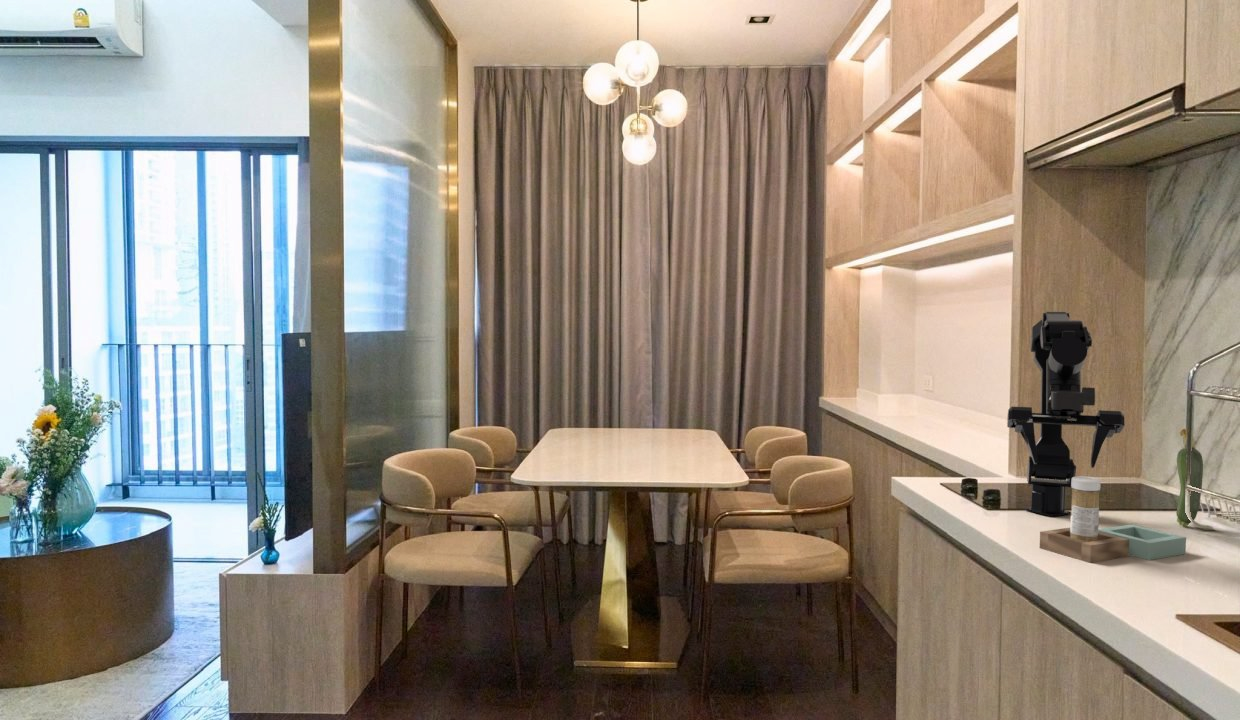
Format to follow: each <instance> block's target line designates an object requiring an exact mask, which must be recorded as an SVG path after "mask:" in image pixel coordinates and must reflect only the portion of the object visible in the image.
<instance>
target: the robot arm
mask: <svg viewBox="0 0 1240 720" xmlns="http://www.w3.org/2000/svg"><path fill="white" fill-rule="evenodd" d="M1041 316H1042V317H1041V319H1040V320H1039V321H1038V322H1037V323H1035V325H1033V326H1032V328H1031V334H1030V353H1033V362H1034V364H1035V365H1036V367H1037V368H1038V369H1039V371H1040V374H1041V375H1040V381H1041V382H1040V412H1039V413H1038V412H1033V408H1032V406H1031V407H1029V406H1011V407H1010V408H1009V409H1008V410H1007V420H1006V421H1007V423H1006V424H1007V425H1006V427H1007V428H1009V429H1014V432H1015V433H1017V434H1018V433H1020V435H1021V437H1022V438H1023V440H1024V442H1025V444H1026V446H1027V448H1028V450H1029V451H1028V452H1029V454H1030V455H1029V456H1028V460H1027V461H1028V463H1027V471H1026V474H1027V475H1026V479H1027V480H1026V481H1027V484H1028V485H1032V487H1031V488H1032V491H1031V500H1030V501H1031V502H1030V504H1031V505H1030V507H1025V511H1026V512H1027V511H1028V512H1031V513H1032V512H1033V513H1036V514H1039V515H1043V516H1047V517H1057V516H1066V515H1071V510H1065V509H1066V508H1065V507H1066V488H1071V489H1072V487H1071V479H1072V477H1075V476H1076V472H1077V465H1076V464H1075V462H1074V460H1073V458H1071V455H1070V454H1071V451H1070V448H1069V446H1068V445H1067V444H1066V442H1065V441H1064V439H1063V438H1062V436H1063V434H1062V432H1063V426H1064V425H1065V426H1084V427H1085V426H1087V427H1094V428H1095V431H1094V432H1093V435H1092V436H1093V437H1092V446H1091V456H1090V468H1091V469H1094V468H1095V465H1096V463H1097V461H1098V458H1099V454H1100V451H1101V449H1102V447H1103V444H1104V442H1105V440H1106V439H1107V438H1112V437H1113V436H1114V435H1115V434H1120V433H1121V432H1122V431H1123V429H1124V428H1125V426H1126V425H1125V415H1124V413H1123V412H1122V411H1120V410H1103V409H1102V410H1100V409H1099V410H1098V411H1097V413H1096V415H1086V414H1083V413H1084V410H1085V409H1084V406H1091V407H1094V406H1095V404H1096V388H1095V387H1090V386H1089V387H1086V386H1085V387H1082V382H1081V380H1082V373H1081V371H1082V369H1083V366H1084V364H1085V361H1086V358H1087V357H1088V350H1089V348H1090V347H1092V346H1093V345H1092V343H1093V339H1092V335H1091V332H1090V331H1089V330H1088V327H1087V326H1084V323H1083V320H1071V319H1070V313H1069V312H1066V311H1046V312H1043V313H1042V315H1041ZM1035 424H1040V426H1039V427H1040V428H1039V429H1040V431H1039V432H1040V435H1039V440H1038V441H1037V442H1036V436H1035Z"/></svg>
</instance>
